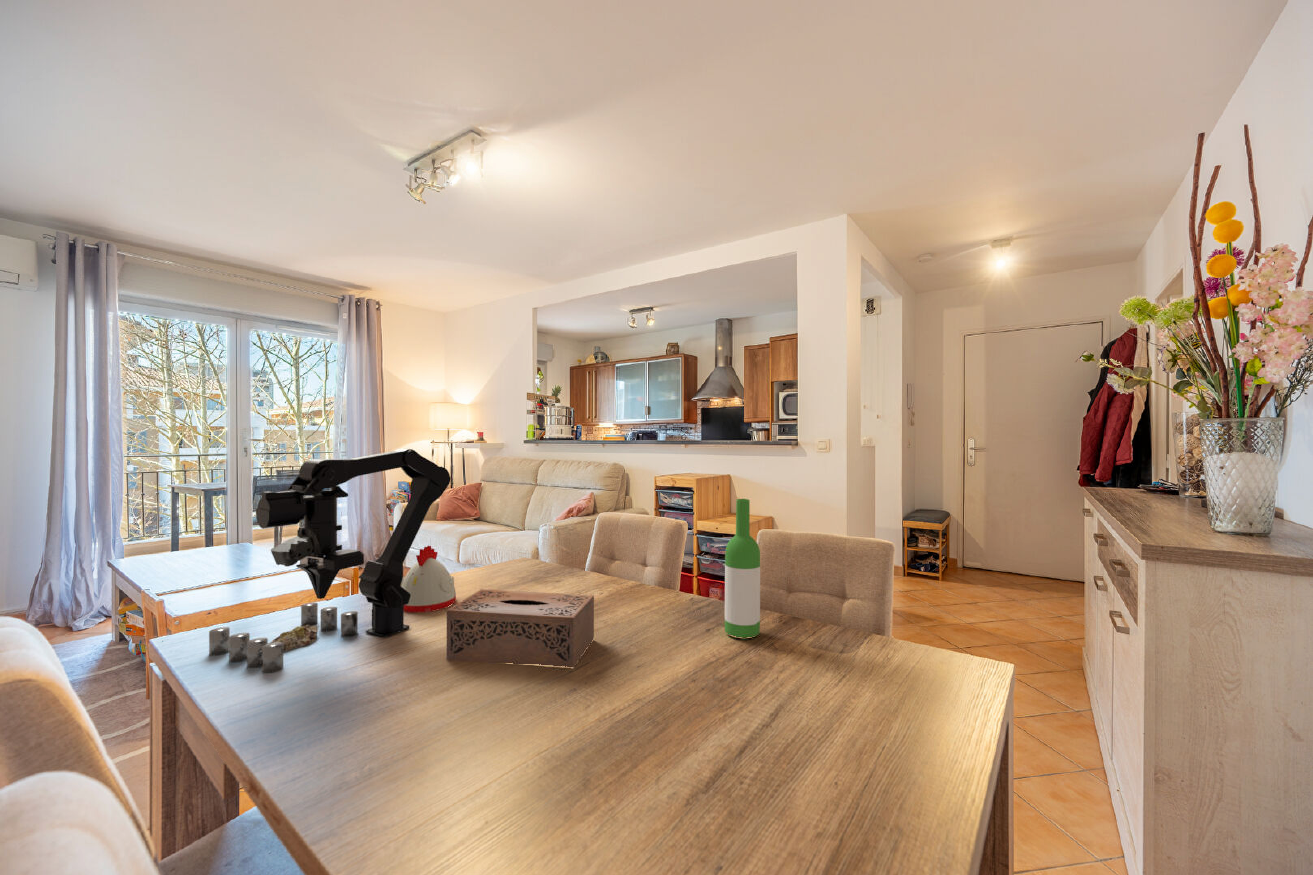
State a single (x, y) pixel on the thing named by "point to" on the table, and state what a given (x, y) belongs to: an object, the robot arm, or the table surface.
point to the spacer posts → (272, 653)
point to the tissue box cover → (520, 628)
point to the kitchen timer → (428, 584)
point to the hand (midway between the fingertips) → (321, 598)
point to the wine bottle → (742, 578)
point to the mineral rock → (297, 637)
